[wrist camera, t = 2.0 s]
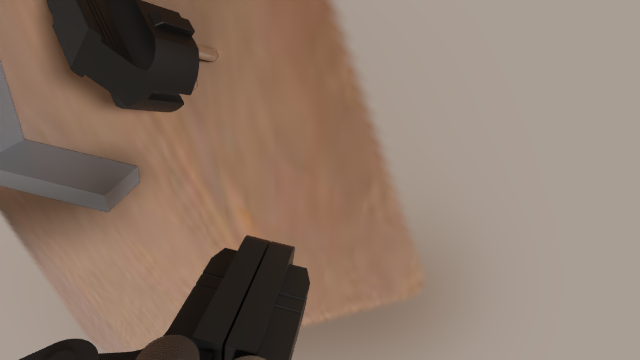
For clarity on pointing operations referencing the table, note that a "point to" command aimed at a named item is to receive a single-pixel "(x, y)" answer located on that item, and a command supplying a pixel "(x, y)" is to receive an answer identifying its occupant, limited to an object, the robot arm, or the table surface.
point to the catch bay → (58, 166)
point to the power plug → (131, 50)
